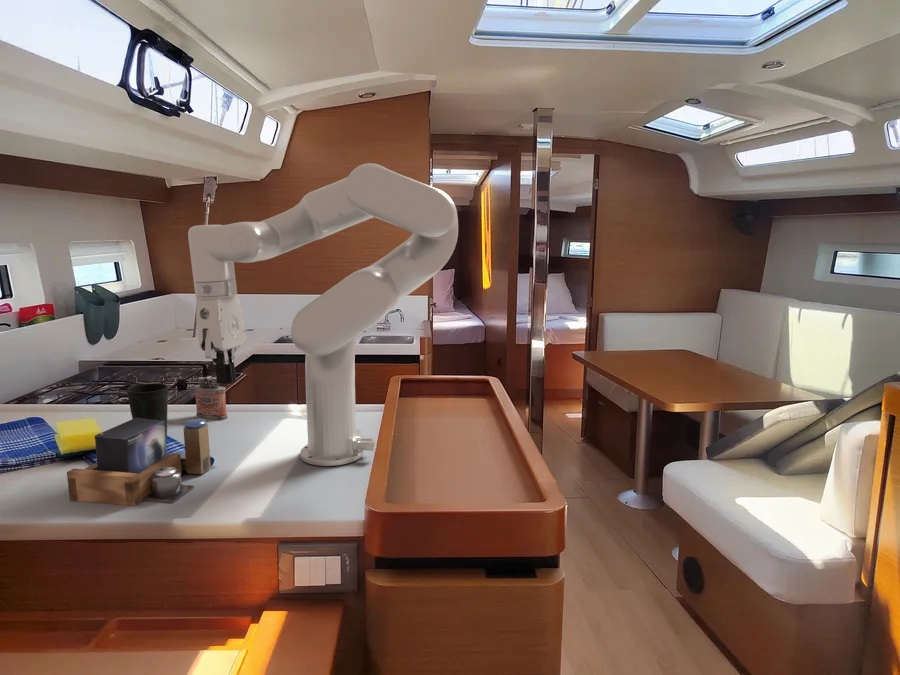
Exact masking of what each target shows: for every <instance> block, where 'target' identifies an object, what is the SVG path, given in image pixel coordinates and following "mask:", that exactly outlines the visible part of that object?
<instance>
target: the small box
mask: <svg viewBox="0 0 900 675" xmlns="http://www.w3.org/2000/svg"><path fill="white" fill-rule="evenodd" d="M94 441H95V442H94V443H95V454H96V463H97V467H98V470H100V471H113V472H126V473H138V474H139V473H141V472H142V471H144V470H146V469H147V468H149V467H151V466H152V465H154V464H156V463H157V462H159V461H161V460H162V459H164V458H166V457H167V453H168V452H167V442H166V437H165V421H164V420H153V419H144V418H134V419H129V420H128V421H125V422H123V423H121V424H118V425H115V426H113V427H111V428H109V429H107V430H104V431H103V432H102V431H101V432H100V433H97V434H95V435H94Z"/></svg>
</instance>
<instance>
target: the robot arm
mask: <svg viewBox="0 0 900 675" xmlns="http://www.w3.org/2000/svg"><path fill="white" fill-rule="evenodd" d="M374 218H375V219H378V220H380V221H383V222H386V223H388V224H391V225H393V226H395V227H398V228H401V229H403V230H405V231H408V232H409V233H410V232H411V233H412V234H411V235H410V236H409V237H408V239H406V240H405V241H403V242H402V243H401V244H400V245H398V246H396V247H395V248H394V249H393V250H391V251H390V252H389V253H387V254H386V255H384V256H383V257H382V258H380V259H379V260H377V261H375V262H373V263H372V264H370V265H369V266H367V267H363V268H361V269H358V270H355V271H354V272H352V273H351V274H349V275H348V276H346V277H344V278H343V279H341V280H340V281H339V282H338V283H336V284H335V285H333V286H332V287H331V288H329V289H328V290H326V291H324V293H322V294H320V295H319V296H318V297H317V298H315V299H313V300H312V301H310V302H309V303H308V304H306V305H304V306H303V307H301V309H300V310H298V311H297V313H296V314H295V315H294V317H293V319H292V321H291V325H290V337H291V340H292V343H293V345H294V346H295V347H296V348H297V349H298V350H299V351H300V352H301V353H303V354H305V360H304V362H305V363H304V364H305V370H304V372H305V373H304V374H305V398H306V399H305V401H306V403H305V404H306V422H307V423H306V426H307V429H306V430H307V444H306V445H304V446H303V447H302V448H301V449H300V451H299V453H300V459H301V460H302V461H303V462H305V463H306V464H310V465H314V466H317V467H318V466H319V467H320V466H321V467H333V466H342V465H347V464H350V463H351V464H352V463H353V462H355V461H357V460H359V459H360V458H362V457H363V456H364V455H365V451H367V452H376V450H375V447H376V448H377V441H375V439H374V437H363V436H362V434H361V429H357V421H356V420H357V418H356V417H357V415H356V385H355V384H356V380H355V379H356V369H355V367H356V365H355V364H356V363H355V362H356V361H355V358H356V338H357V337H358V336H360V335H361V334H362V333H364V332H365V331H366V330H368V329H369V328H371V327H373V326H374V325H375V324H377V323H378V322H379V321H381V320H382V319H383V318H384V317H386V316H387V315H388V314H389V312H390V311H391V310H393V308H394V307H395V306H396V305H397V304H398V303H399V302H400V301H402V300H404V299H405V298H406V297H407V296H408V295H411V293H413V292H414V291H415V290H417V289H418V288H420V287H421V286H422V285H424V284H425V283H427V281H428V280H430V279H432V278H433V277H434V276H435V275H437V273H439V272H440V271H441V270H442V269H443V267H445V266H446V264H447V263H448V262H449V260H450V258H451V256H452V255H453V253H454V250H455V249H456V246H457V242H458V237H459V218H458V210H457V207H456V205H455V202H454V201H453V199H452V198H451V196H450V195H448V194H447V193H446V192H444V191H443V190H441V189H439V188H437V187H436V188H435V187H433V186H431V185H428V184H426V183H423V182H421V181H418V180H416V179H413V178H411V177H408V176H405V175H403V174H400V173H398V172H396V171H394V170H390V169H388V168H386V167H385V166H383V165H381V164H378V163H373V162H371V163H370V162H369V163H368V162H367V163H363V164H360V165H358V166H357V167H355V168H354V169H352V170H351V172H350V173H349V175H348V176H346V177H344V178H342V179H340V180H337V181H335V182H333V183H330V184H327V185H324V186H323V187H319V188H318V189H315V190H312V191H310V192H308V193H307V194H305V195H304V196H303V197H302V199H301V200H300V201H299V202H298V203H297V204H295V205H294V206H293V207H291V208H289V209H288V210H285V211H283V212H281V213H279V214H276V215H273V216H271V217H269V218H268V217H267V218H266V219H263V220H260V221H239V222H233V223H229V224H224V225H223V224H201V225H194V226H191V227H190V228H189V229H188V232H187V235H188V236H187V238H188V245H189V253H190V254H189V256H190V262H191V270H192V278H193V287H194V293H195V294H194V296H195V300H196V304H195V305H196V307H195V308H196V309H195V310H196V311H195V312H196V313H195V314H196V332H197V339H198V345H199V348H200V350H202V351H204V357H205V359H211V360H212V364H213V365H214V367H215V368H214V370H215V376H216V377H215V378H217V383H218V385H229V384H230V385H231V384H233V383H235V382H236V381H237V377H236V376H237V375H236V366H235V361H236V351H237V350H239V348H240V345H242V344H244V343H245V342H246V340H247V333H246V325H245V320H244V314H243V310H242V304H241V300H240V299H239V298H240V297H239V296H238V290H237V282H236V281H237V280H236V273H235V272H236V271H235V263H244V264H249V263H255V262H261V261H266V260H270V259H273V258H275V257H278V256H281V255H282V254H285V253H288V252H291V251H292V250H296V249H297V248H300V247H303V246H305V245H306V244H307V245H308V244H310V243H312V242H314V241H319V240H322V239H324V238H326V237H328V236H331V235H333V234H336V233H339V232H340V231H343V230H345V229H348V228H350V227H353V226H355V225H357V224H360V223H362V222H363V223H364V222H366V221H368V220H370V219H374Z"/></svg>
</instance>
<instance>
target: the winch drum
mask: <svg viewBox="0 0 900 675" xmlns="http://www.w3.org/2000/svg"><path fill="white" fill-rule="evenodd" d="M151 483H152V492H151V493H150V494H148V495H147V496H145V497H144V498H143V501H144V502H145V501H146V502H147V501H148V502H155V503H156V502H157V503H158V502H159V503H167V504H168V503H170V504H174V503H175V502H176V501H178V500H179V499H180V498H182V497H183V496H186V494H188V493H189V492H190V491H191V490H193V489H194V488H195V487H194V485H191V484H190V485H188V484H182V475H181V471H180V470H178V469H176V468H174V467H165V468H161V469H158V470H157V471H156V472H155V473H153V474H152V475H151ZM143 501H142V502H143Z"/></svg>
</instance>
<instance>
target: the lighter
mask: <svg viewBox="0 0 900 675" xmlns="http://www.w3.org/2000/svg"><path fill="white" fill-rule="evenodd" d="M198 383H199V384H198V385H195V386H193V388H194V393H195V405H196V407H195V408H196V414H195V415H196V419H205V420H206V421H208V420H209V421H225V420H227V419H228V413H227V404H226V403H227V402H226V401H227V400H226V391H227V388H226V387H225V386H221V385H220V386H219V384H218V383H217V378H216V377H213V376H210V375H207V376H205V377H202V376H201V377H198Z"/></svg>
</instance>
